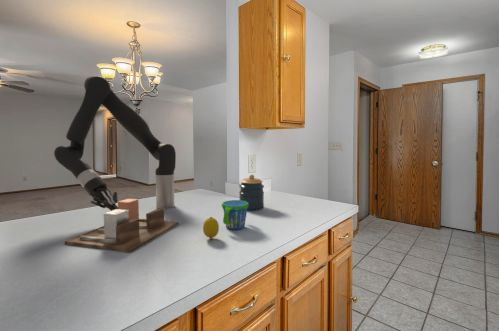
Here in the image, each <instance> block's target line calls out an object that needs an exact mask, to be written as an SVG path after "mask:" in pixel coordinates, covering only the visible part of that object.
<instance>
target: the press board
mask: <svg viewBox="0 0 499 331" xmlns="http://www.w3.org/2000/svg"><path fill="white" fill-rule="evenodd" d="M145 214H146V216H145V218H141V217H139V219H132V220H129V221H127V222H125V223H122V224H120V225H117V226H116V239H108V238H105V235H104V225H102V226H100V227H98V228H95V229H92V230H90V231H87V232H84V233H82V234H80V235H77V236H74V237H72V238H69V239H65V241H64V245H71V246H78V247H85V248H92V249H101V250H110V251H117V252H123V253H124V252H126V253H133V252H134V251H136V250H138V249H140V248H142V247H143V246H145V245H147V244H148V243H150V242H151V241H153V240H155V239H157V238H159V237H160V236H162V235H164V234H165V233H167V232H168V231H171V230H172V229H173V228H175V227H178V226H179V225H180V221H173V220H165V208H156V209H153V210H151V211H149V212H147V213H145Z"/></svg>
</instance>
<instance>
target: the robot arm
mask: <svg viewBox="0 0 499 331" xmlns="http://www.w3.org/2000/svg"><path fill="white" fill-rule="evenodd" d="M83 86H84V90H85V91H84V92H85V93H84V96H83V100H82V103H81V106H80V107H79V109H78V111H77V113H76V114H75V115H74V117H73V119H72V121H71V123H70V126H69V128H68V129H67V133H66V135H65V137H66V140H68V141H70V145H59V146H57V147H55V149H54V151H53V152H54V153H53V155H54V159H55V160H56V161H57V162H58V163H59V164H60V165H61V166H63V167H64V168H65V169H66V170H68V171H69V172H70V173H71V174H73V176H74V177H75V178H76V180H77V181H78V183H79V184H80V186H82V188H83V189H84V191H85V192H87V194H88V195H89V196H90V197H92V199H91V200H90V203H91V204H93V205H95V206H98V207H100V208H102V209H106V208H107V209H108V210H109V211H112V210H115V209H118V205H116V204H117V203H118V202H119V201H118V200H119V199H118V193H117V191H114V192H112V191H111V190H110V189H109V188H107V187H108V186H107V183H106V182H105V181H104V180H103V178H102V177H101V176H100V175H99V174H98V173H97V172H96V171H95V170H94V168H92V166H91V165H90V164H89V163H88V162H86V161H85V160H82V158H83V156H84V149H85V143H86V142H85V140H86V139H87V137H88V135H89V131H90V130H91V128H92V125H93V123H94V119H95V117H96V115H97V113H98V111H99V109H100V108H101V105H102V106H103V107H104V108H106V110H107V111H108V112H110V114H111V115H112V117H113V118H114V119H115V120H116V121H117V122H118V123H119V124H120V125H121V126H122V127H123V128H124V129H125V130H126V131H127V132H128V133H129V134H131V136H132V137H134V138H135V139H136V140H137V141H138V142H139V143H141V144H142V145H143V146H144V147H145V148H146V150H147V151H148V153H150V155H151V156H152V157H153V158H154V159H155V160H157V161H158V167H156V169H155V203H156V204H155V206H156V209H159V208H164V209H170V208H174V207H175V170H176V157H177V156H176V155H177V154H176V149H175V147H174V146H173V145H172V144H171V143H163V142H161V141H160V140H158V139H157V138H156V136H155V135H154V134H153V133H152V131H151V129H150V127H149V125H148V124H147V122H146V120H144V118H143V117H142V116H141V115H140V114H139V113H138V112H137V111H136V110H134V109H133V108H132V107H131V106H130V105H128V104H127V103H125V102H124V101H123V100H122V99H120V98H119V96H118V95H117V94H116V93H115V92H114V91H113V90H112V89H111V85H110V82H109V81H108V80H107V79H106V78H105V77H103V76H99V75H91V76H88V77H87V78H86V79H85V81H84V84H83Z"/></svg>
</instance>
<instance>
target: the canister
mask: <svg viewBox="0 0 499 331" xmlns="http://www.w3.org/2000/svg"><path fill="white" fill-rule="evenodd" d="M240 183H241V184H239V186H238V187H239V191H238V193H239V196H238V198H239V199H238V200H241V201H246V202H248V203H249V206H248V208H247V212H256V211H261V210H264V206H265V203H264V202H265V200H264V198H265V196H264V193H265V192H264V187H265V185H264V184H263V180H261V179H260V178H255V176H254V174H250V175H249V176H248V177H246V178H243V179H242V180H240Z"/></svg>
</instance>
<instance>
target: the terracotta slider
mask: <svg viewBox="0 0 499 331" xmlns="http://www.w3.org/2000/svg"><path fill="white" fill-rule="evenodd" d="M117 207H118V209H121V210H129V220H132V219H139V218H140V213H139V210H140V209H139V207H140V206H139V198H138V199H137V198H126V199H123V200H119V201H117Z"/></svg>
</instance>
